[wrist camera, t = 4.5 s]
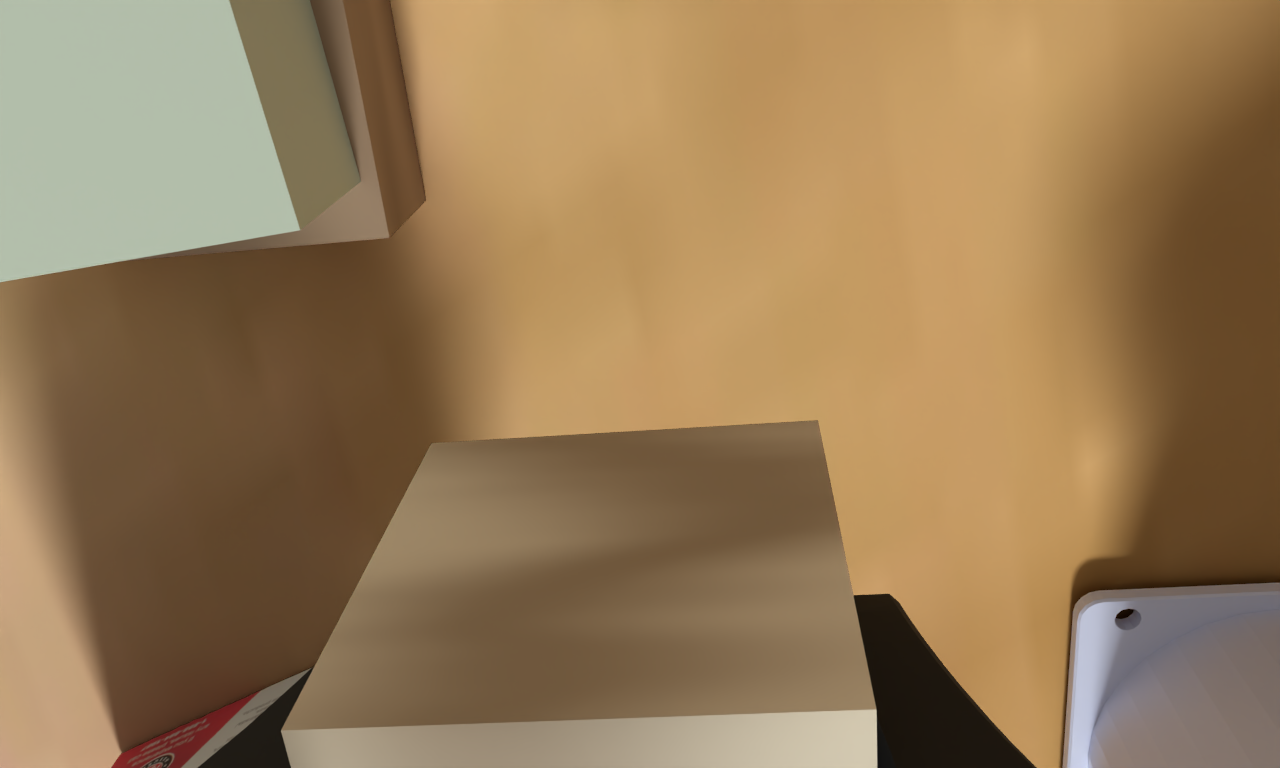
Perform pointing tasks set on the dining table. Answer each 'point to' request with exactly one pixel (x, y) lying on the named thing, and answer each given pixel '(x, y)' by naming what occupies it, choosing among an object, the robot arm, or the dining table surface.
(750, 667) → the maple block
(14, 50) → the sage top block
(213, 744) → the ink box
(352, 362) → the dining table surface
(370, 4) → the walnut base block
